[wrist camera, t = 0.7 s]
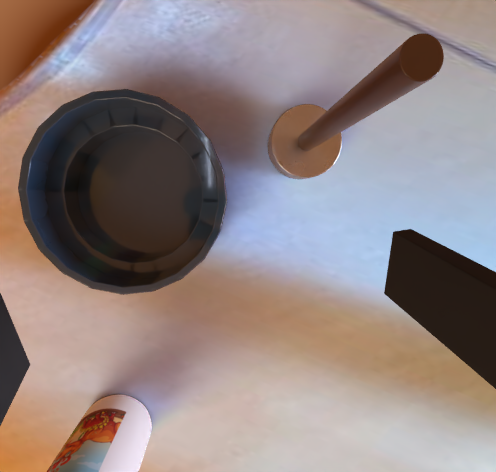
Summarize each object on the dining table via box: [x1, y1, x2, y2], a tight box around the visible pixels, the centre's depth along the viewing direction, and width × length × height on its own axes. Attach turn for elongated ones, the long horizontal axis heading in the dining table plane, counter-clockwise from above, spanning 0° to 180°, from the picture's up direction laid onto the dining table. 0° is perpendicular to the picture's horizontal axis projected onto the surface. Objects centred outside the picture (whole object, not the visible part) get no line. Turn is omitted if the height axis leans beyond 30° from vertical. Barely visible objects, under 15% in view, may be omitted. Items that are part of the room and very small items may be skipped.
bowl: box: [18, 89, 227, 295], centre depth 31 cm, size 17×17×6 cm
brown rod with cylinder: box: [268, 34, 444, 179], centre depth 23 cm, size 7×7×22 cm
